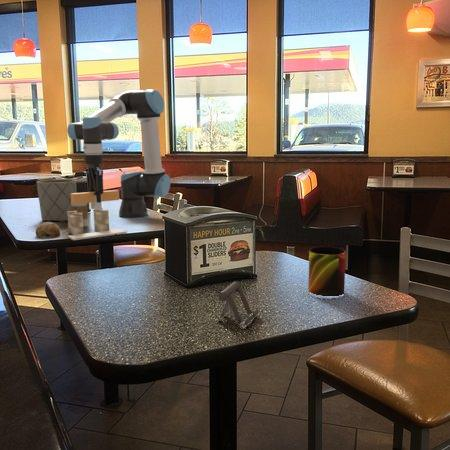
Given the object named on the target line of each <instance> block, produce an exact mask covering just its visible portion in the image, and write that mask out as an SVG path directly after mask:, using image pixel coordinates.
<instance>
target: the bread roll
mask: <svg viewBox="0 0 450 450" xmlns="http://www.w3.org/2000/svg"><path fill="white" fill-rule="evenodd" d="M60 235H61V230H60V226H59V225H57V224H56V223H55V222H52V221H45V222H42V223H41V224H39V225H37V226H36V229H35V236H36V237H38V238H41V239H48V238H49V237H50V238H55V237H59V236H60Z"/></svg>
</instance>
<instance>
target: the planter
mask: <svg viewBox="0 0 450 450" xmlns="http://www.w3.org/2000/svg"><path fill="white" fill-rule="evenodd" d="M36 189H37V194H38V196H37V197H38V201H39V202H38V203H39V208H40V216H41V220H42V222H44V221H58V222H60V223H64V222H66V221H68V214H67V212H69V211H72V209H71V201H70V196H71V194H70V193H77V180H76V179H69V178H65V179H64V178H60V179H59V178H57V179H44V180H43V179H42V180H37V181H36Z"/></svg>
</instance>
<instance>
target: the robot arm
mask: <svg viewBox="0 0 450 450" xmlns="http://www.w3.org/2000/svg"><path fill="white" fill-rule="evenodd" d="M164 110H165V101H164V98H163V95H162V94H161V92H160V91H158V89H138V90H137V89H135V90H134V89H133V90H131V89H130V90H127V91H124V92H122V93H120V94H117V95H116V96H114V97H113V98H111V99H110V100H109V101H108V103H107V104H106V105H104V106H102V107H101V108H99V109H98V110H96V111H95V112H93V113H92V114H90V115H88V116H84V117H82V120H81V121H79V122H77V121H76V122H71V123H69V124H68V125H67V130H66V131H67V132H66V133H67V135H68V137H69V138H70V139H71V140H77V141H83V146H82V149H83V153H84V155H83V158H84V159H83V160H84V164H86V165H87V166H88V167H87V168H85V173H86V186H87V187H86V188H87V192H95V194H94V200H95V202H91V203H90V210H93V209H95V210H102V208H103V207H102V206H103V205H102V202H101V194H102V193H103V191H104V170H103V169H101V166H100V165H101V164H103V163H104V159H103V157H104V156H103V151H104V150H103V142H102V141H106V140H107V141H111V140H115V139H116V138H117V137H118V136H119V134H120V133H119V132H120V130H119V129H120V128H119V127H118V125H117V124H116V123H114V122H112V121H114V120H116V119H117V118H121V117H124V116H126V115H136V118H137V120H138V121H139V122H140V129H141V139H142V149H143V160H144V161H143V162H144V170H140V171H133V172H132V171H131V172H126V173H125V172H124V173H122V174H121V175H120V190H121V192H120V193H121V203H120V208H119V209H118V216H119V217H123V218H139V217H140V218H141V217H146V216H148V213H149V211H148V208H147V206H146V203H145V198H144V197H155V198H158V197H159V198H162V197H165V196H167V194H168V193H169V191H170V188H171V177H170V176H169V174H166V170H165V168H163V165H162V155H161V154H162V153H161V152H162V151H161V143H160V142H161V141H160V131H159V130H160V129H159V119H160V118H161V114H163V112H164Z"/></svg>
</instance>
